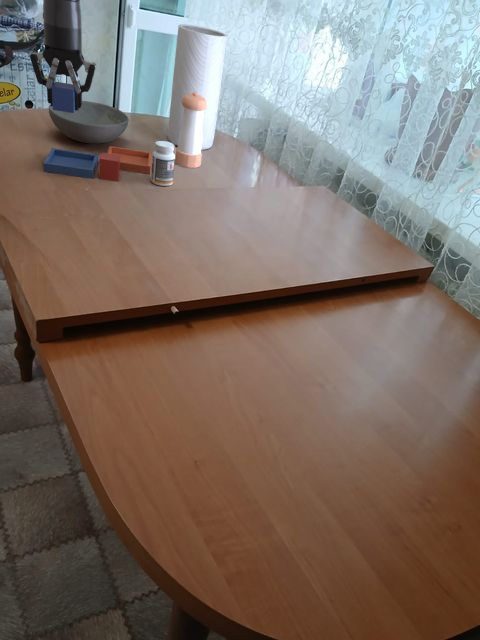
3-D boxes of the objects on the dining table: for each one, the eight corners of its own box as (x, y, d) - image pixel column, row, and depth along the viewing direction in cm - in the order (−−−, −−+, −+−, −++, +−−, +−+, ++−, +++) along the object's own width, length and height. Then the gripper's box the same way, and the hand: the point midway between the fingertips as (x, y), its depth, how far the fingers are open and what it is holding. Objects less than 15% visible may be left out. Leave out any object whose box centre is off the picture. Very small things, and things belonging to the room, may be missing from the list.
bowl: (103, 126, 168) (103, 99, 163) (141, 150, 158) (143, 122, 153) (36, 129, 154) (35, 100, 150) (73, 155, 144) (73, 124, 139)
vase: (210, 154, 167) (226, 39, 148) (163, 145, 165) (173, 27, 147) (214, 141, 178) (229, 32, 160) (170, 132, 177) (181, 21, 158)
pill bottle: (177, 184, 142) (181, 146, 136) (162, 188, 138) (166, 149, 132) (160, 176, 144) (164, 138, 138) (145, 180, 140) (148, 141, 134)
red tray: (104, 167, 141) (104, 159, 140) (109, 153, 151) (109, 145, 149) (150, 174, 144) (150, 166, 143) (151, 159, 153) (152, 152, 152)
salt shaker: (195, 170, 153) (204, 98, 142) (171, 163, 154) (178, 90, 143) (203, 163, 159) (212, 93, 148) (180, 156, 160) (187, 86, 149)
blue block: (52, 110, 122) (51, 86, 119) (56, 104, 126) (55, 81, 123) (74, 113, 123) (73, 89, 120) (77, 107, 127) (76, 84, 124)
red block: (99, 178, 135) (99, 158, 132) (101, 172, 139) (101, 152, 136) (118, 181, 136) (118, 161, 133) (119, 174, 140) (120, 155, 137)
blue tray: (43, 171, 132) (42, 163, 131) (51, 155, 141) (51, 147, 140) (93, 178, 134) (93, 170, 133) (98, 162, 143) (98, 154, 142)
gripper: (100, 26, 119) (99, 108, 129) (30, 13, 116) (35, 98, 126) (95, 32, 113) (95, 117, 123) (22, 18, 110) (28, 106, 120)
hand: (64, 107), depth 124 cm, fingers closed on blue block, 4 cm apart
